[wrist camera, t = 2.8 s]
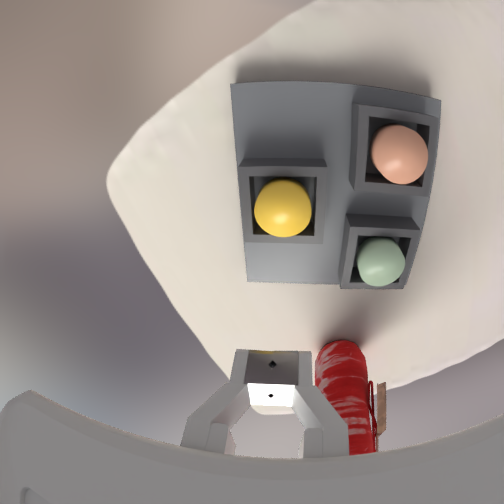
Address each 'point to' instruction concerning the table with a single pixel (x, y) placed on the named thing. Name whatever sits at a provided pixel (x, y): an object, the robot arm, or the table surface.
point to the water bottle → (351, 393)
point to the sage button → (380, 260)
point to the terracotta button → (398, 153)
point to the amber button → (283, 207)
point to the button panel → (328, 175)
